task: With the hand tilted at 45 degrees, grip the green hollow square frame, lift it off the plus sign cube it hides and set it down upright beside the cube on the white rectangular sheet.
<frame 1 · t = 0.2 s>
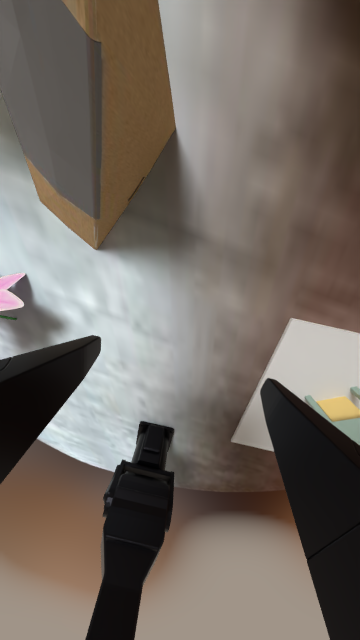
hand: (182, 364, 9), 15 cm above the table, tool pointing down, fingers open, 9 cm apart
green hollow square frame: (358, 438, 22), on the white rectangular sheet
sandwich container: (102, 169, 19), on the table
plus sign cube: (341, 420, 25), on the white rectangular sheet
lily: (11, 292, 25), on the table
white rectangular sheet: (317, 403, 27), on the table
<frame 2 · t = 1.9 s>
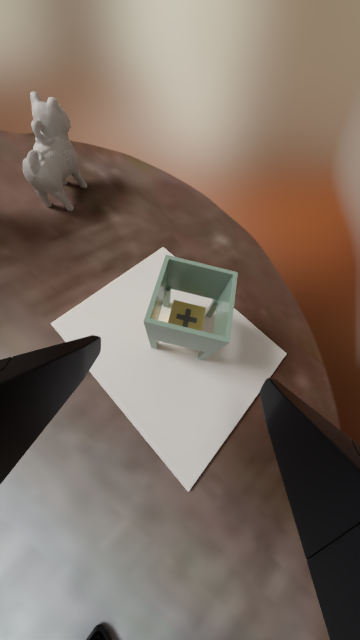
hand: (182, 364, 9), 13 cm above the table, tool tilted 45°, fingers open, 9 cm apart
green hollow square frame: (187, 316, 19), on the white rectangular sheet
plus sign cube: (184, 324, 22), on the white rectangular sheet
white rectangular sheet: (172, 339, 23), on the table
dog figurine: (69, 192, 32), on the table
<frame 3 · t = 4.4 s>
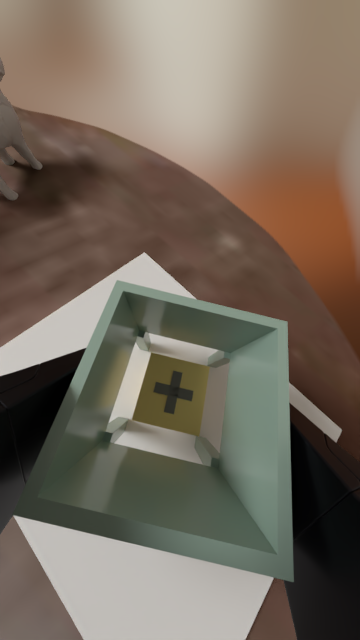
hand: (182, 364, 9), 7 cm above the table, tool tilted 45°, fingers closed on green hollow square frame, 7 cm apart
green hollow square frame: (174, 391, 10), on the white rectangular sheet, touching gripper
plus sign cube: (171, 390, 12), on the white rectangular sheet
white rectangular sheet: (152, 409, 14), on the table
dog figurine: (15, 175, 23), on the table
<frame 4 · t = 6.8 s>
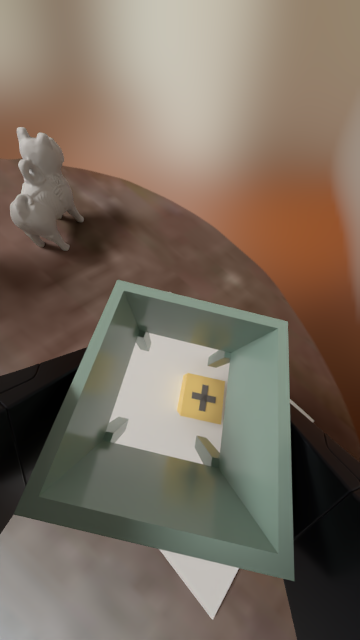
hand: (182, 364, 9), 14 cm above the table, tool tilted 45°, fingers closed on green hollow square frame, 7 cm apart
green hollow square frame: (174, 391, 10), point 12 cm above the table, touching gripper
plus sign cube: (199, 396, 19), on the white rectangular sheet
white rectangular sheet: (184, 408, 20), on the table
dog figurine: (64, 227, 29), on the table
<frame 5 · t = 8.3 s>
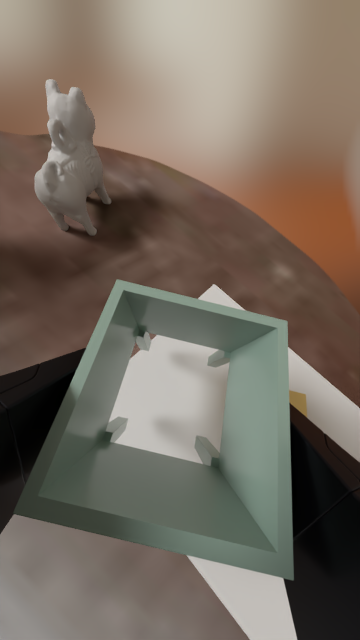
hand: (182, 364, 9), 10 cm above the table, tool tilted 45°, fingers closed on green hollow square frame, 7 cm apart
green hollow square frame: (174, 391, 10), point 8 cm above the table, touching gripper
plus sign cube: (268, 412, 15), on the white rectangular sheet
white rectangular sheet: (243, 425, 17), on the table
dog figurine: (89, 210, 26), on the table
when the fingers open (8 cm above the table, at t = 9.3 s): green hollow square frame drops 1 cm, resting on white rectangular sheet.
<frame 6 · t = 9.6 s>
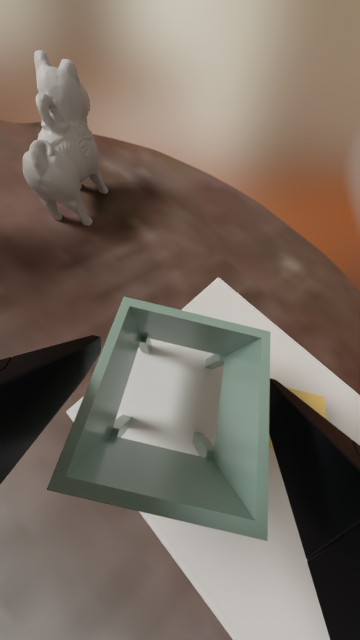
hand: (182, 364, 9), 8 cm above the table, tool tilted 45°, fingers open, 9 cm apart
green hollow square frame: (173, 391, 11), on the white rectangular sheet
plus sign cube: (281, 416, 14), on the white rectangular sheet
white rectangular sheet: (252, 430, 15), on the table
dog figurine: (84, 199, 24), on the table
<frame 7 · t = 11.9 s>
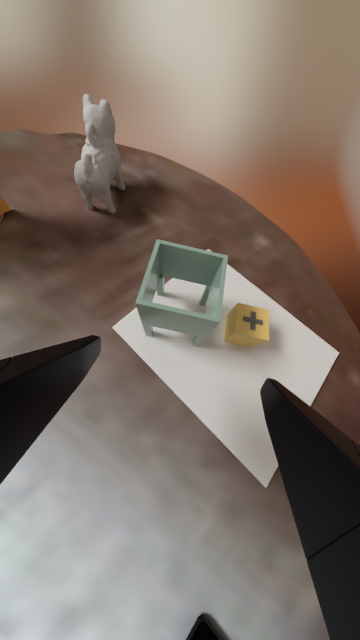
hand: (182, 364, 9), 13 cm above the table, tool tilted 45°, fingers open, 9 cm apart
green hollow square frame: (180, 301, 19), on the white rectangular sheet
plus sign cube: (245, 326, 22), on the white rectangular sheet
white rectangular sheet: (229, 341, 24), on the table
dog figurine: (108, 194, 32), on the table
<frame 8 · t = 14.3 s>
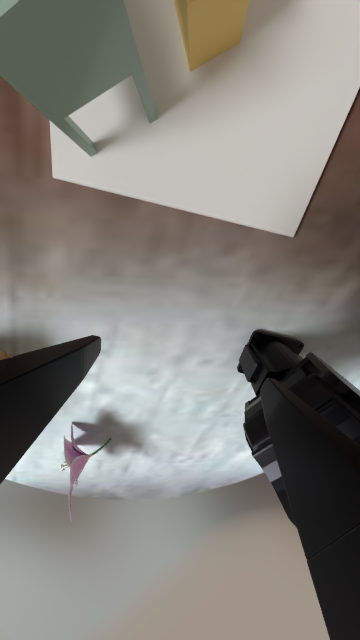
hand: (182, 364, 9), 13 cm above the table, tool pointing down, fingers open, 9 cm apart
green hollow square frame: (64, 16, 10), on the white rectangular sheet
lily: (90, 434, 33), on the table
white rectangular sheet: (199, 65, 14), on the table
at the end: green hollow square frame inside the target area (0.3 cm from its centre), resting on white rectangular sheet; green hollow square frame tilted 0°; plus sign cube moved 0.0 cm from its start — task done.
